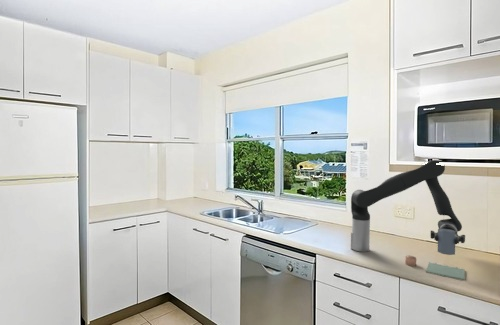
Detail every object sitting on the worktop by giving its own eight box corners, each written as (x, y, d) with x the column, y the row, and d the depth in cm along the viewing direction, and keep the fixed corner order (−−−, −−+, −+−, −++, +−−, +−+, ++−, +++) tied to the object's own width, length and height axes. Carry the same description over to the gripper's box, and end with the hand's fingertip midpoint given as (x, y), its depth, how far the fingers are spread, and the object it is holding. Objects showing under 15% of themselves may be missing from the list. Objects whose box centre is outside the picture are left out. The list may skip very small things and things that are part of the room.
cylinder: (404, 264, 140) (404, 257, 140) (406, 261, 144) (406, 254, 144) (415, 266, 138) (415, 259, 137) (416, 263, 141) (416, 256, 141)
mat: (426, 272, 131) (426, 270, 131) (428, 263, 142) (428, 262, 142) (464, 280, 123) (464, 279, 123) (464, 270, 134) (464, 269, 133)
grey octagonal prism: (437, 252, 132) (437, 230, 131) (438, 249, 137) (438, 227, 136) (454, 255, 128) (455, 233, 127) (455, 251, 133) (455, 230, 133)
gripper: (431, 222, 148) (427, 229, 134) (466, 226, 139) (466, 234, 126) (430, 237, 148) (427, 245, 135) (466, 242, 139) (466, 251, 126)
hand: (446, 240), depth 130 cm, fingers closed on grey octagonal prism, 6 cm apart
